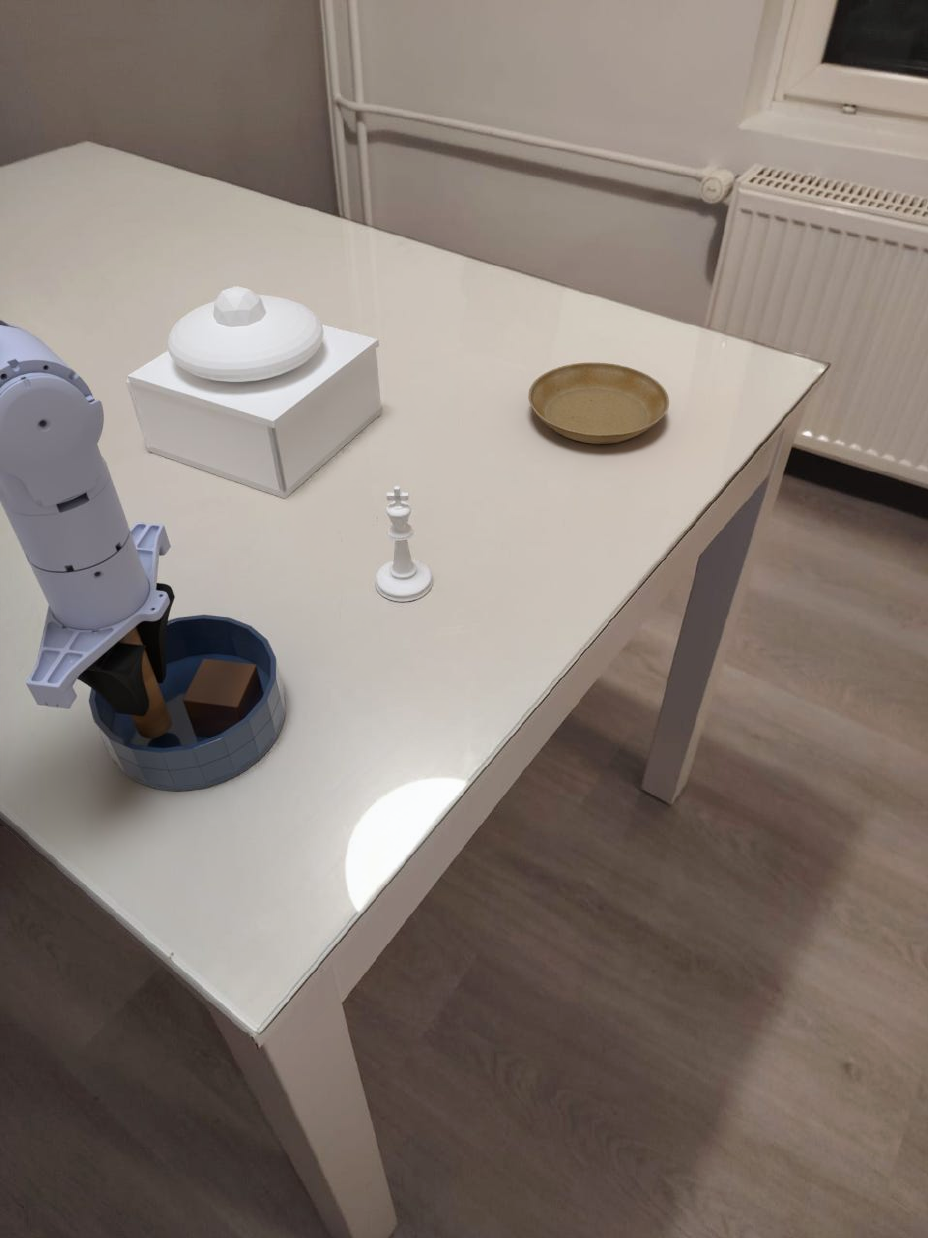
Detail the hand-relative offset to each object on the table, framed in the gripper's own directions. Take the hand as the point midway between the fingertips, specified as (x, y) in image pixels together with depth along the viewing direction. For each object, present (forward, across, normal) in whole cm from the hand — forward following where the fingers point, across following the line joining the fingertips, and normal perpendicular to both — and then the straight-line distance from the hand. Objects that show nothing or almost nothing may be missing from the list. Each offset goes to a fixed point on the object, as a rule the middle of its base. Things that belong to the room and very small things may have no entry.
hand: (141, 694), depth 59 cm
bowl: (+5, +2, -2) cm, 6 cm away
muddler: (+3, 0, 0) cm, 3 cm away
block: (+5, +2, -5) cm, 7 cm away
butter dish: (+5, +40, +5) cm, 41 cm away
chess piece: (+5, +19, -14) cm, 24 cm away
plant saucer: (+5, +48, -29) cm, 57 cm away
